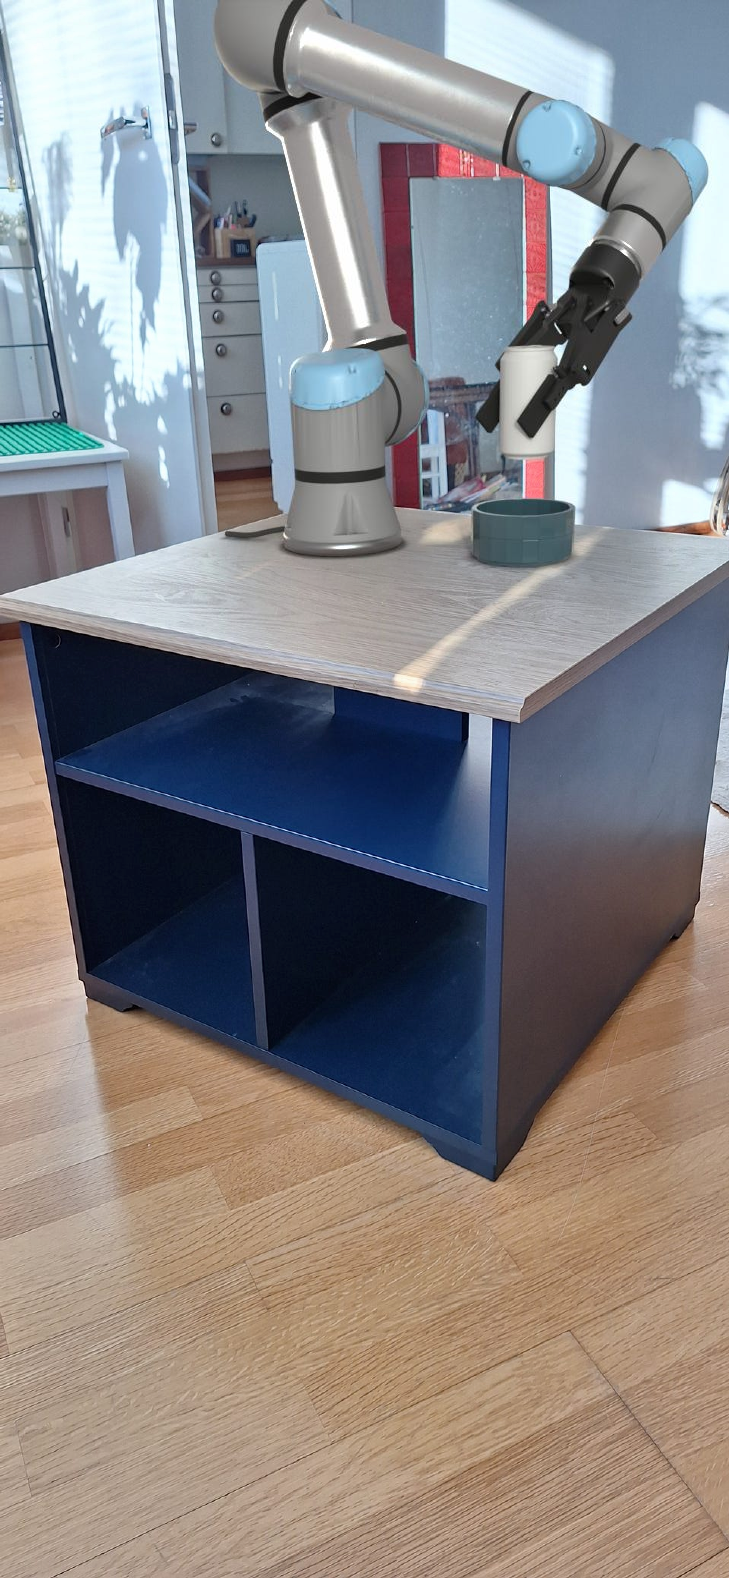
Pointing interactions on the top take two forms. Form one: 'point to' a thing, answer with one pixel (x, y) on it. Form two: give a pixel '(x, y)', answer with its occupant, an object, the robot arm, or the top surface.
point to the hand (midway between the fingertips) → (503, 427)
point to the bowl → (522, 532)
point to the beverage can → (524, 400)
